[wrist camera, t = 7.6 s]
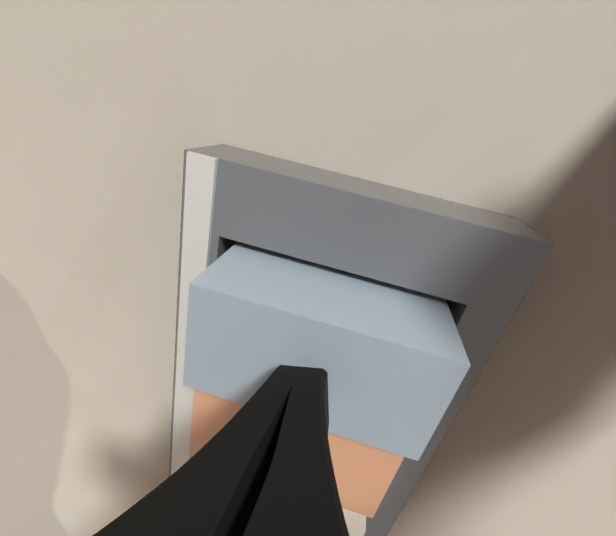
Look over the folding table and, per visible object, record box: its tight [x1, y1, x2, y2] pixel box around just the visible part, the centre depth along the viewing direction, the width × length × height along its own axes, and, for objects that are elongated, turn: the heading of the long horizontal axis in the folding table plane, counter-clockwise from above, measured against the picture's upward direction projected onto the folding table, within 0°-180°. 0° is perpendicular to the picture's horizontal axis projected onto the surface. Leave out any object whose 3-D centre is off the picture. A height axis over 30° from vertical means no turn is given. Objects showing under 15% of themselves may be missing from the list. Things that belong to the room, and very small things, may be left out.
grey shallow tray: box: [169, 144, 554, 536], centre depth 16 cm, size 12×20×3 cm, turn 167°
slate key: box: [183, 242, 471, 461], centre depth 12 cm, size 8×4×4 cm, turn 77°
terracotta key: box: [189, 389, 404, 518], centre depth 15 cm, size 8×4×4 cm, turn 77°
